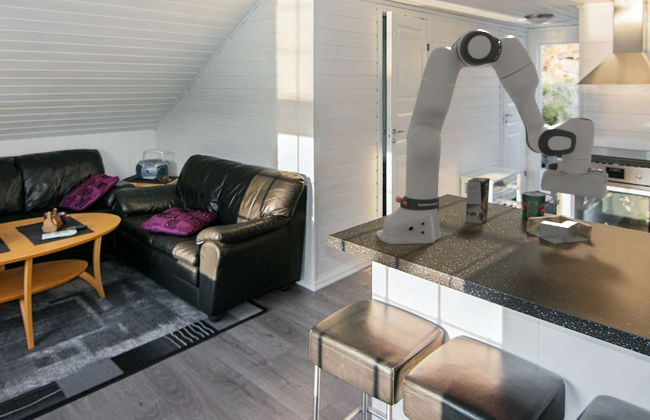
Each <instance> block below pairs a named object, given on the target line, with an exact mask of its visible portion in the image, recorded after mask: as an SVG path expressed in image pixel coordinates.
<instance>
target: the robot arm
mask: <svg viewBox="0 0 650 420" xmlns="http://www.w3.org/2000/svg"><path fill="white" fill-rule="evenodd" d="M483 65H489V66H491V67H492V69H493V70H494V71H495V74H496V76H497V78H498V80H499V82H500V84H501V85H502V87H503V89H504V90H505V92H506V93H507V95H508V96H509V98H510V99H511V101H512V102H513V104H514V105H515V108H516V110H517V112H518V114H519V117H520V118H521V121H522V123H523V125H524V130H525V143H526V145H527V147H528V148H529V150H530V151H532V152H533V153H535V154H536V153H537V154H541V155H543V156H546V157H558V156H561V159H560V160H559V159H558V160H555V161H551V162H548V163H546V164H545V170H544V172H543V173H542V177H541V180H540V188H541V190H542V191H548V192H550V196H551V199H552V200H553V201H552V205H553V206H559V205H560V199H558V197H557V195H558V193H560V194H566V195H572V196H579V197H585V198H586V203H582V204H581V210H582V211H589V206H590V205H591V203H592V202H593V201H594V199H604V198H605V197H606V196H607V189H608V187H607V185H608V184H607V183H608V181H609V175H610V174H609V173H608V172H607V171H605V170H604V169H597V168H591V164H592V150H593V147H594V143H595V142H594V141H595V122H594V121H593V120H591V119H590V118H587V117H581V116H575V115H572V116H571V115H570V116H569V117H568V118H566V119H565V120H562V121H561V122H558V123H556V124H553V125H550V124H549V123H548V122H546V120H545V119H544V116H543V115H542V113H541V109H540V108H539V106H538V103H537V102H536V97H535V96H536V95H535V93H536V91H537V88H538V86H539V83H540V79H539V75H538V71H537V68H536V66H535V64H534V62H533V60H532V58H531V56H530V54H529V53H528V51H527V50H526V48H525V46H524V44H522V42H521V41H520V39H519V38H517V37H516V36H514V35H506V36H502V37H501V38H498V37H497V36H495V35H493V34H492V33H490V32H489V31H486V30H484V29H473V30H469V31H467V32H465V33H464V34H462V35H461V36H460V37H459V38H458V39H457V40H456V41H455V42H454V43H453V45H451V46H450V47H449V46H439V47H436V48H434V49H433V50H432V51H431V53H430V55H429V56H428V59H427V62H426V64H425V66H424V70H423V73H422V77H421V80H420V84H419V88H418V92H417V96H416V100H415V104H414V108H413V112H412V115H411V118H410V121H409V126H408V129H407V133H406V162H405V163H406V164H405V165H406V166H405V195H404V196H403V197H400V196H396V197H395V199H394V200H395V201H396V203H399V205H400V206H399V207H398V208H396V209H395V210H394V211H393V212H392V213H390V214H388V216H386V217H385V218H384V220H383V225H382V229H380V230H378V231H376V235H375V236H376V238H377V239H378V240H380V241H381V242H383V243H386V244H389V245H404V244H405V245H407V244H434V243H435V242H436V241H437V240H439V239H441V237H442V233H441V228H440V222H439V211H440V196H439V175H440V165H441V154H442V152H441V151H442V137H441V134H442V131H443V127H444V123H445V121H446V117H447V115H448V112H449V109H450V106H451V103H452V99H453V95H454V91H455V88H456V85H457V84H456V83H457V80H458V76H459V73H460V72H461V70H462V69H463V68H465V67H466V68H467V67H470V68H474V67H480V66H483Z"/></svg>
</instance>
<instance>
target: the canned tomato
mask: <svg viewBox="0 0 650 420" xmlns="http://www.w3.org/2000/svg"><path fill="white" fill-rule="evenodd" d="M522 197H523V199H522V211H521V212H522V214H521V222H522V223H524V224H527V220H528V218H533V217H545V211H546V197H547V194H546V193H545V192H542V191H525V192H523V196H522Z"/></svg>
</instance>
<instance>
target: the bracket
mask: <svg viewBox="0 0 650 420" xmlns="http://www.w3.org/2000/svg"><path fill="white" fill-rule="evenodd" d="M577 226H578V222H573V221H565V222H563V223H561V224H560V223H554V222H548V221H543V222H541V223H540V231H539V237H538V238H540V237H541V238H540V239H542V238H547V239H552V240H557V241H562V242H567V243H569V242H568V241H569V240H571V239H573V238H575V237H576V236H577Z"/></svg>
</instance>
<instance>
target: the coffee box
mask: <svg viewBox="0 0 650 420" xmlns="http://www.w3.org/2000/svg"><path fill="white" fill-rule="evenodd" d="M466 187H467V188H466V189H467V190H466V203H465V204H466V206H465V222H466V223H472V224H481V225H482V224H483V223H484V222H485V221H486V220H488V214H489V198H490V197H489V195H490V177H489V178H488V177H487V178H486V177H472V178H471V179H468V180H467V186H466Z"/></svg>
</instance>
